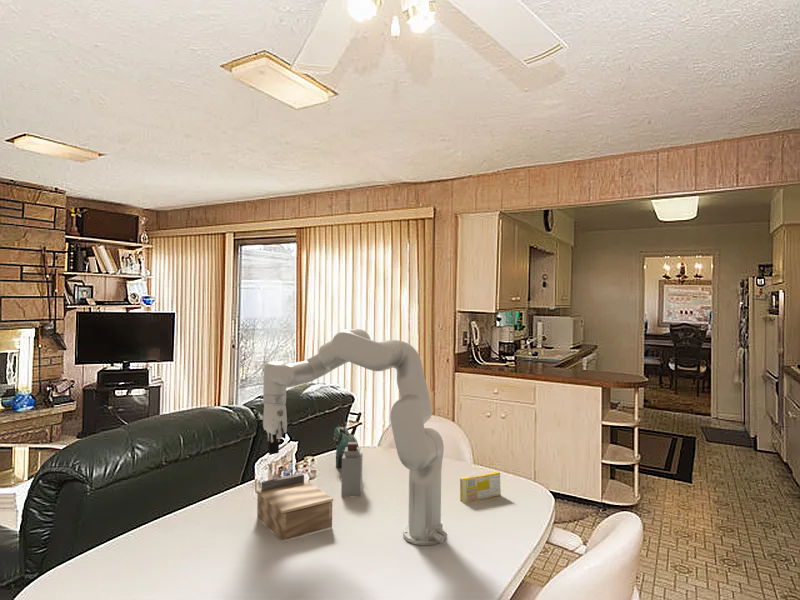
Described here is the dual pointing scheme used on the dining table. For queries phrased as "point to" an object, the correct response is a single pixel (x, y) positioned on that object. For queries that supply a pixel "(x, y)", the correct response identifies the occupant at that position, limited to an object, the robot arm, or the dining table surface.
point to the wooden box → (294, 520)
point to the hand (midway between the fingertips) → (273, 453)
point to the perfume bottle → (351, 471)
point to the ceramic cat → (342, 442)
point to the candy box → (480, 487)
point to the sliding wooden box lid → (292, 493)
